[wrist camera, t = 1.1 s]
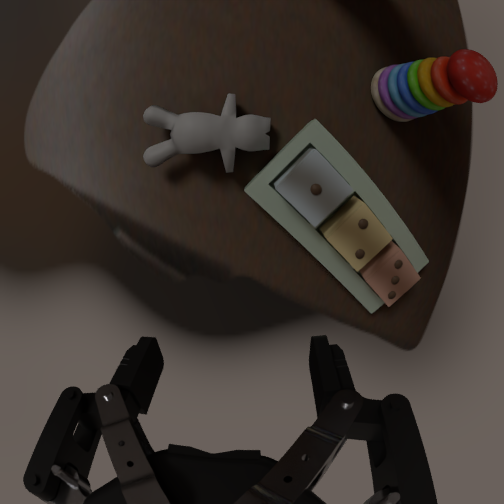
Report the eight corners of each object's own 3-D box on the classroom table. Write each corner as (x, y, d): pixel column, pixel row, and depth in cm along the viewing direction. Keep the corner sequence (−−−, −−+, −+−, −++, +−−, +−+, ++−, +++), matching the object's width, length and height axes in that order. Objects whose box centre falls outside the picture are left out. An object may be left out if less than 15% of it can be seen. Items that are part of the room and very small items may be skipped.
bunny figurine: (270, 174, 30) (139, 177, 28) (264, 169, 35) (150, 171, 33) (273, 93, 26) (138, 97, 25) (266, 99, 31) (150, 102, 29)
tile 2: (353, 195, 32) (365, 203, 28) (380, 228, 33) (393, 239, 29) (319, 228, 34) (326, 239, 30) (348, 258, 35) (357, 272, 31)
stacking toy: (417, 127, 30) (515, 135, 12) (367, 114, 30) (457, 103, 13) (418, 77, 27) (510, 57, 9) (368, 61, 27) (449, 16, 9)
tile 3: (388, 238, 34) (401, 249, 30) (408, 265, 35) (421, 278, 31) (356, 267, 35) (366, 282, 32) (378, 292, 37) (389, 307, 33)
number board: (311, 120, 31) (315, 118, 28) (419, 253, 37) (429, 261, 34) (245, 186, 34) (243, 190, 32) (365, 303, 41) (371, 313, 38)
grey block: (309, 148, 30) (316, 149, 26) (343, 183, 31) (354, 190, 27) (274, 183, 32) (275, 189, 28) (308, 217, 33) (315, 227, 29)
